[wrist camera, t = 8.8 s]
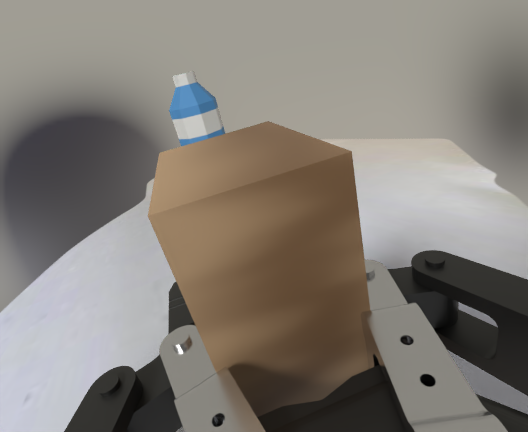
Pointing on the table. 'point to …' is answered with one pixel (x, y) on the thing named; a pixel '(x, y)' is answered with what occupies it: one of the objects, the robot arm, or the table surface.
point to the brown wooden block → (267, 258)
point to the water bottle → (194, 111)
